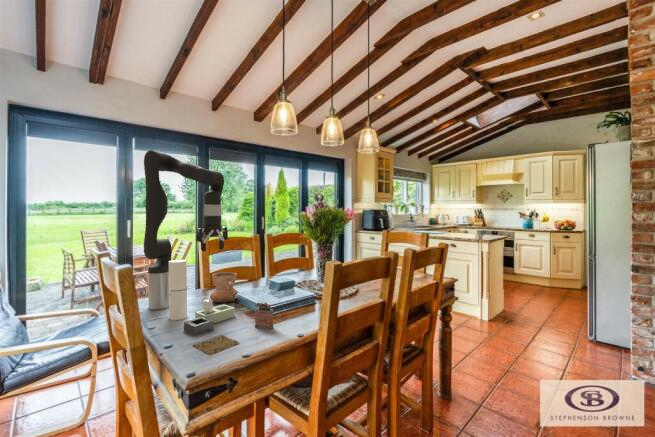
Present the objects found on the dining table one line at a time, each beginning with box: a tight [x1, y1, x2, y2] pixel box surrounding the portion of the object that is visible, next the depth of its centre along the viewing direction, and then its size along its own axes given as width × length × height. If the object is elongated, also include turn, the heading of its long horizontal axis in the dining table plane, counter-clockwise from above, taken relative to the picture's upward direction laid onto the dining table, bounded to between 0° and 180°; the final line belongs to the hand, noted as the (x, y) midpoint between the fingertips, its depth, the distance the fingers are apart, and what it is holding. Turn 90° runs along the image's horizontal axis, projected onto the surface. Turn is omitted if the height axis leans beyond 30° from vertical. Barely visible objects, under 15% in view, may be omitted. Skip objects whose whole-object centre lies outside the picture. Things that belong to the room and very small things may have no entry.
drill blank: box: [202, 298, 214, 315], centre depth 132 cm, size 4×4×9 cm
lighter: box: [254, 302, 274, 331], centre depth 125 cm, size 8×3×10 cm, turn 71°
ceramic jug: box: [209, 271, 240, 304], centre depth 162 cm, size 18×14×14 cm
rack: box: [194, 303, 236, 324], centre depth 135 cm, size 8×14×4 cm, turn 142°
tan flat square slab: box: [191, 334, 240, 356], centre depth 110 cm, size 12×12×1 cm
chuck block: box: [183, 317, 215, 337], centre depth 122 cm, size 8×8×4 cm
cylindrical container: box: [168, 259, 188, 321], centre depth 137 cm, size 7×7×25 cm
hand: (212, 250), depth 141 cm, fingers open, 8 cm apart
